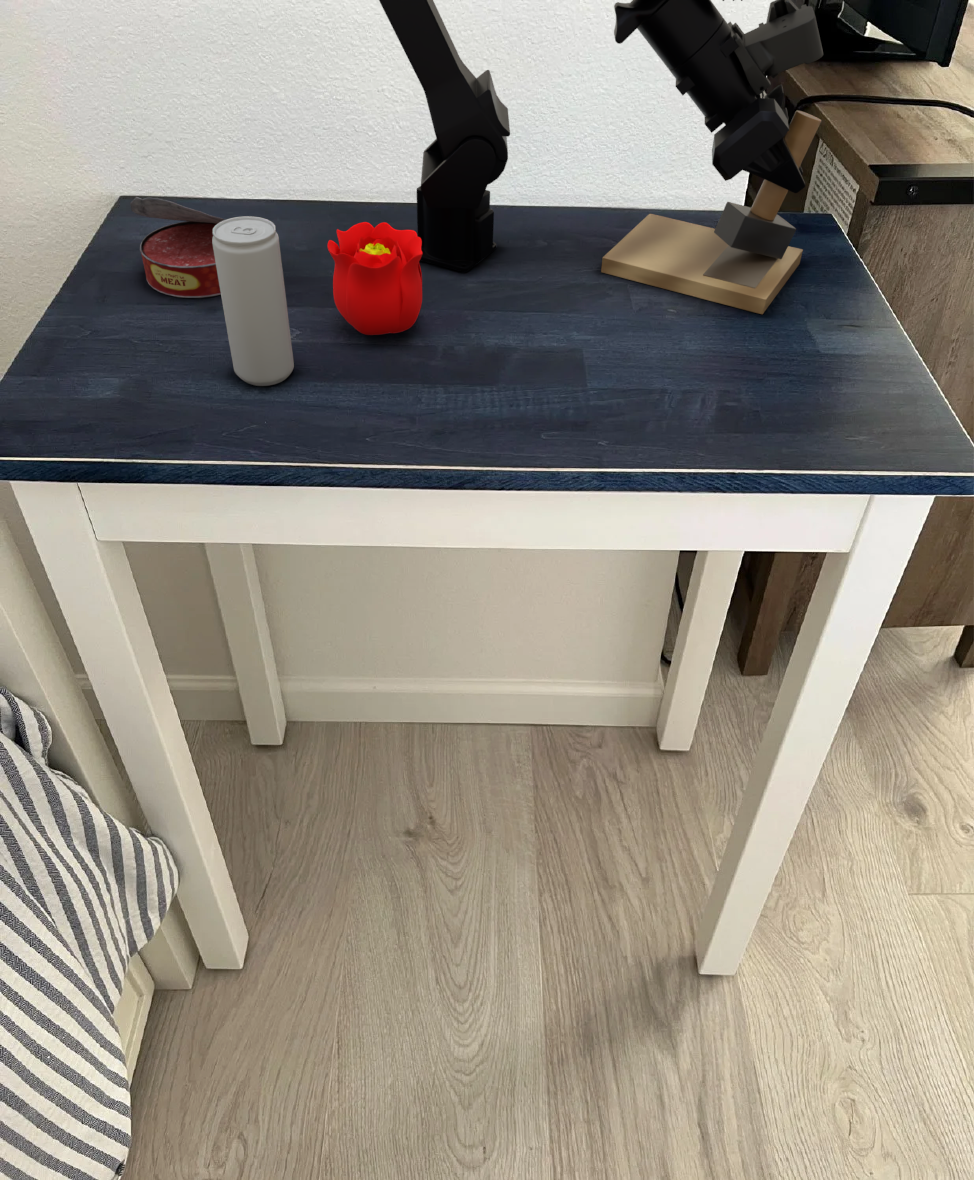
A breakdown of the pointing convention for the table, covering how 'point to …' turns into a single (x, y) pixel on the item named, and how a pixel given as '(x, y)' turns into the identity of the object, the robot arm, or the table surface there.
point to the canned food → (179, 250)
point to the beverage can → (254, 299)
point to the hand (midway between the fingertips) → (799, 183)
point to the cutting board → (699, 264)
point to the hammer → (767, 203)
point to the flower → (377, 277)
